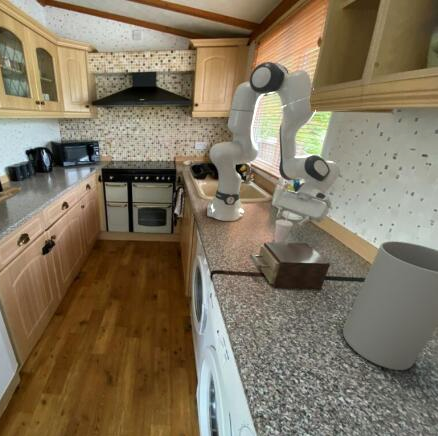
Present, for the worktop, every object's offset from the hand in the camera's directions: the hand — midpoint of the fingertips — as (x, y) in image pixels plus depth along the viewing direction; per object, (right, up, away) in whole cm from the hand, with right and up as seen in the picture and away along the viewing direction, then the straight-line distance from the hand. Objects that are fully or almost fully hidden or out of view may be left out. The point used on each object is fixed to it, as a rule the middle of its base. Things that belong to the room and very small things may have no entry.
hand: (288, 221), depth 101 cm
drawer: (-15, -18, -19) cm, 30 cm away
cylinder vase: (-5, -30, -44) cm, 53 cm away
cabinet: (-11, -19, -19) cm, 29 cm away
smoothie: (-2, -10, +3) cm, 10 cm away
